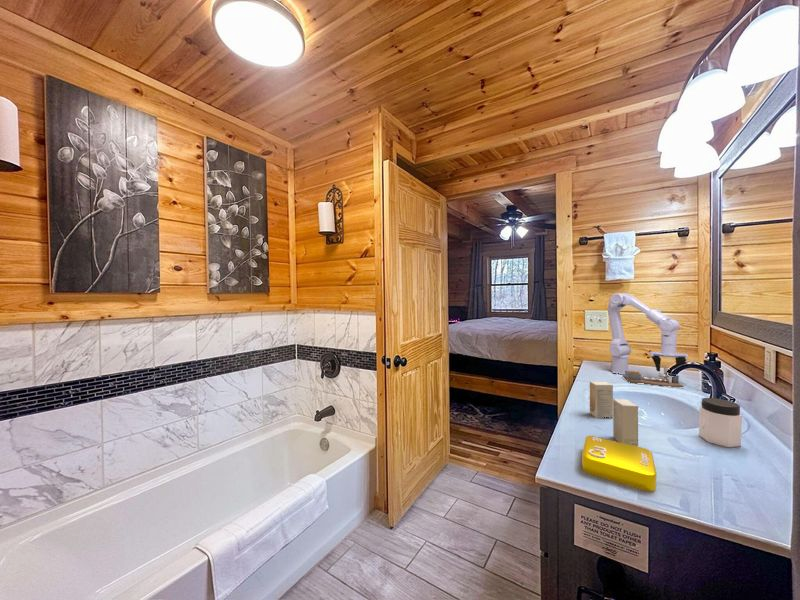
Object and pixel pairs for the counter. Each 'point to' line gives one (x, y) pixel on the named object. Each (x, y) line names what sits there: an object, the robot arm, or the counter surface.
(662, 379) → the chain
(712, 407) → the jar
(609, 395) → the skincare box
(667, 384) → the board
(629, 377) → the binder housing
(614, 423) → the skincare box
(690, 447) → the counter surface
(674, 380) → the keeper hook
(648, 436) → the counter surface
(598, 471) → the element tile
